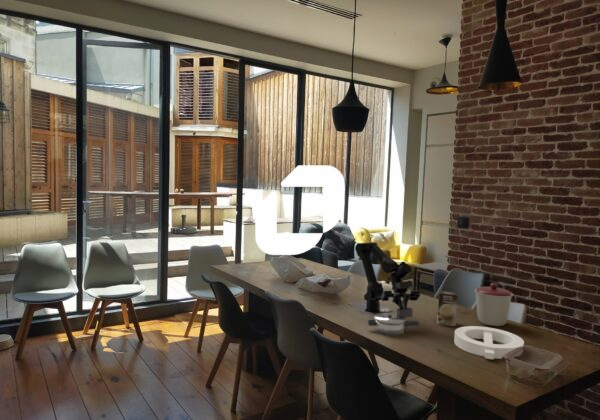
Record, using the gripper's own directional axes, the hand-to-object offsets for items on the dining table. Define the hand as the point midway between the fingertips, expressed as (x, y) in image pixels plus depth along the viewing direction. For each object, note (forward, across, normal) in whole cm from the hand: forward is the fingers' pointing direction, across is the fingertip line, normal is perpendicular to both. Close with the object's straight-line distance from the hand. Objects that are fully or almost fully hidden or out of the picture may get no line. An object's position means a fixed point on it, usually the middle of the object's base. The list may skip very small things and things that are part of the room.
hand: (404, 310), depth 214 cm
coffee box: (+2, +25, +11) cm, 27 cm away
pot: (+8, -7, +4) cm, 11 cm away
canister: (+2, +50, +11) cm, 51 cm away
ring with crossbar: (+24, +29, -11) cm, 39 cm away
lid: (+4, -7, +1) cm, 8 cm away
